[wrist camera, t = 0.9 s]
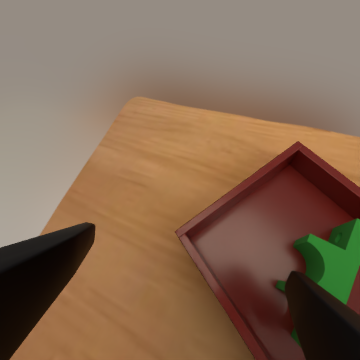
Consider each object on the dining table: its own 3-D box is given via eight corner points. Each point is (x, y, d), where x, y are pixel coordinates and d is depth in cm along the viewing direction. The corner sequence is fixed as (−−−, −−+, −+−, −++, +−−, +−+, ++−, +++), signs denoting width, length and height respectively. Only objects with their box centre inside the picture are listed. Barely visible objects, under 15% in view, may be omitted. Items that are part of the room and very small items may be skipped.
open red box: (466, 305, 16) (528, 314, 13) (310, 434, 16) (333, 481, 12) (289, 158, 25) (298, 140, 22) (182, 236, 24) (174, 231, 21)
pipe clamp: (305, 216, 22) (322, 203, 18) (345, 233, 20) (373, 224, 16) (262, 316, 19) (270, 329, 15) (303, 345, 17) (326, 368, 13)
